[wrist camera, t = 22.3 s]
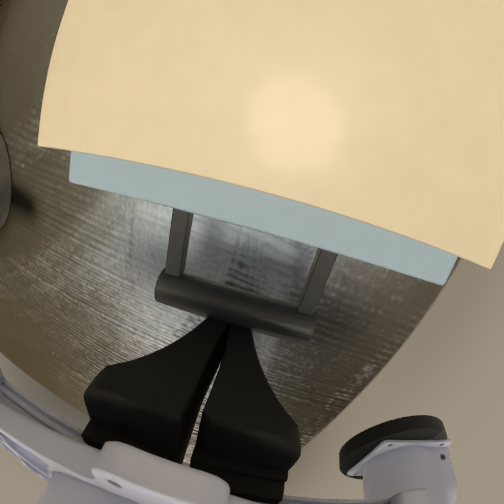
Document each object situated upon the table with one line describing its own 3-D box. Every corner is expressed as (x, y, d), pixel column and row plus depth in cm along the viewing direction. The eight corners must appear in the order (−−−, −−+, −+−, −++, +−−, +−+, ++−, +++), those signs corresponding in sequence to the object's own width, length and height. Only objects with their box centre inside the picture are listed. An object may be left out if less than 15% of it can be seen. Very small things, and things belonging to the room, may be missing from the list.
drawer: (352, 302, 15) (373, 395, 9) (144, 243, 15) (73, 307, 9) (442, -17, 7) (501, -64, 1) (222, -72, 8) (184, -140, 2)
